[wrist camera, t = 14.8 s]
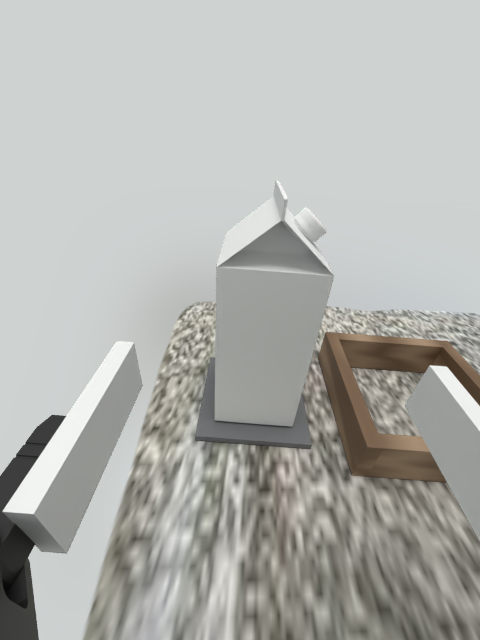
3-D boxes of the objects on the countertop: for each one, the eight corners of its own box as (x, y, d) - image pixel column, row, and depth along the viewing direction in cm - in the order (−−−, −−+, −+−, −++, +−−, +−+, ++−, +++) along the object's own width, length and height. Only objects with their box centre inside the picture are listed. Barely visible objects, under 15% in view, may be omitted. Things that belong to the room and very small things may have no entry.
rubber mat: (295, 367, 32) (296, 364, 32) (310, 448, 24) (311, 444, 23) (210, 361, 32) (210, 357, 32) (195, 440, 24) (195, 435, 23)
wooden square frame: (428, 363, 34) (444, 338, 32) (524, 488, 22) (560, 461, 20) (317, 354, 34) (324, 328, 32) (351, 475, 22) (367, 447, 20)
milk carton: (213, 422, 25) (216, 193, 14) (221, 367, 30) (228, 176, 20) (292, 428, 25) (355, 203, 14) (285, 372, 30) (326, 183, 20)
